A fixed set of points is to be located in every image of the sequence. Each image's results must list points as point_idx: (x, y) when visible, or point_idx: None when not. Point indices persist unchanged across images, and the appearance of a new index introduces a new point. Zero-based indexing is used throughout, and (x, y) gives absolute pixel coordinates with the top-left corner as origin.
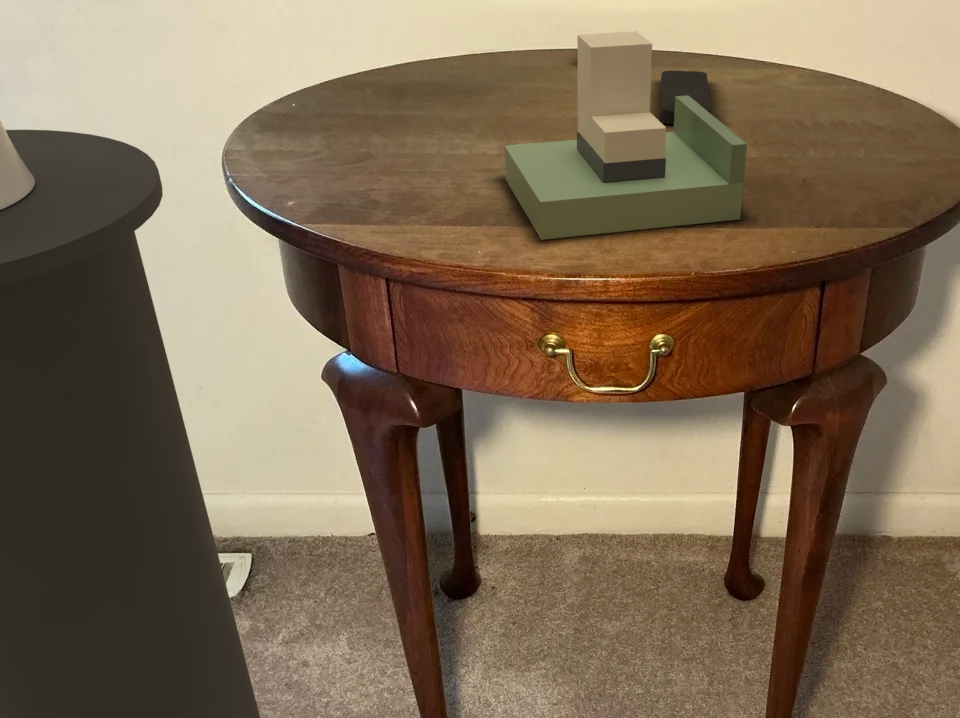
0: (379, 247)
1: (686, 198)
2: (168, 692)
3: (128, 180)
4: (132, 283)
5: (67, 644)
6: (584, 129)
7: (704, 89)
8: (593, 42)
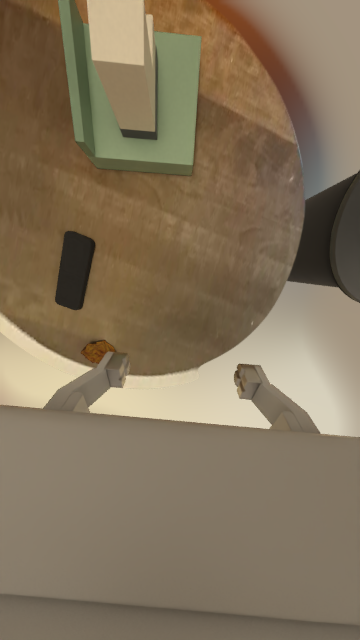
0: (273, 90)
1: None
2: None
3: (353, 216)
4: (328, 209)
5: None
6: (154, 104)
7: (61, 271)
8: (137, 19)
